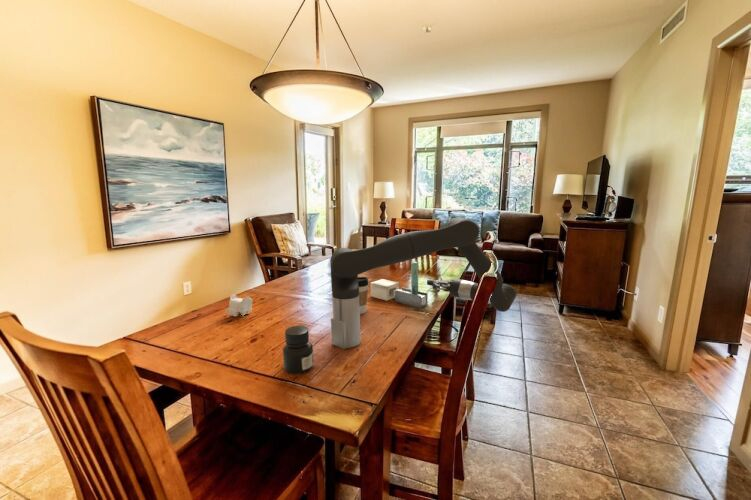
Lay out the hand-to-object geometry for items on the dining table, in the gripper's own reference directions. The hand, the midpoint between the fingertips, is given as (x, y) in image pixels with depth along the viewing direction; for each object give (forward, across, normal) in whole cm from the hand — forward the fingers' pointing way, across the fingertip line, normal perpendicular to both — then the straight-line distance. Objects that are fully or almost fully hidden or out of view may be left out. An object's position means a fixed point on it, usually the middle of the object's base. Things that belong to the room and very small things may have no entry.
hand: (428, 281), depth 149 cm
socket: (+25, 0, +12) cm, 28 cm away
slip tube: (+10, 0, +11) cm, 15 cm away
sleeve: (+9, 0, +12) cm, 15 cm away
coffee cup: (+20, +23, +12) cm, 33 cm away
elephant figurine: (+57, +59, +12) cm, 83 cm away
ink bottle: (+1, +68, +12) cm, 69 cm away
